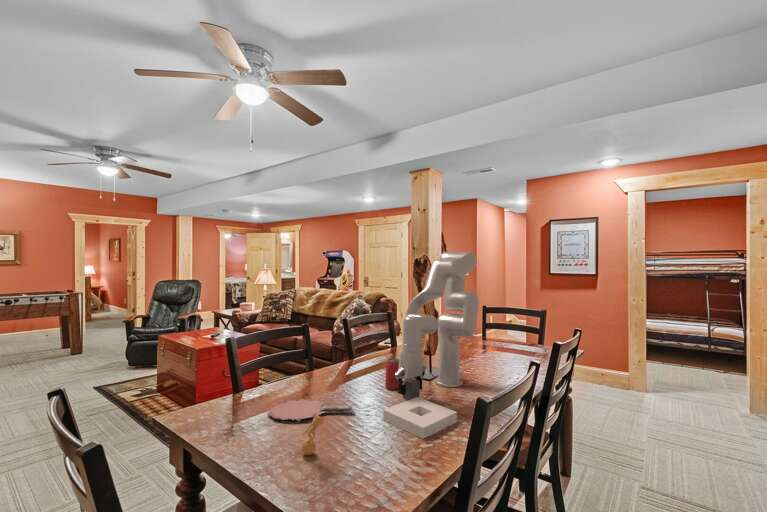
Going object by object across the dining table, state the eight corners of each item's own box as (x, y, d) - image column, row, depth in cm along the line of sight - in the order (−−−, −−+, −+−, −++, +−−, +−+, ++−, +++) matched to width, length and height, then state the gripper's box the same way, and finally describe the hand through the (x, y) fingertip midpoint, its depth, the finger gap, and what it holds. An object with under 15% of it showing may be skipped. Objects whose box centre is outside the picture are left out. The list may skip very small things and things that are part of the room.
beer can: (399, 391, 154) (399, 362, 154) (383, 389, 155) (384, 361, 155) (401, 385, 160) (402, 358, 161) (386, 384, 162) (387, 357, 162)
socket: (417, 406, 139) (417, 396, 139) (456, 422, 126) (457, 412, 126) (383, 419, 126) (383, 409, 126) (423, 439, 113) (423, 427, 113)
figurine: (312, 445, 108) (313, 405, 108) (328, 451, 105) (329, 409, 105) (293, 459, 100) (294, 415, 100) (310, 465, 97) (311, 420, 98)
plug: (410, 397, 147) (410, 377, 147) (419, 401, 144) (419, 380, 144) (402, 400, 144) (403, 380, 144) (411, 404, 140) (411, 383, 140)
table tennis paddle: (287, 401, 142) (287, 393, 142) (356, 411, 133) (356, 403, 133) (259, 419, 125) (259, 411, 125) (337, 432, 117) (337, 423, 117)
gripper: (418, 343, 152) (417, 384, 152) (389, 349, 140) (388, 393, 140) (433, 346, 147) (431, 389, 147) (404, 353, 135) (402, 399, 135)
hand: (410, 391), depth 143 cm, fingers open, 9 cm apart
